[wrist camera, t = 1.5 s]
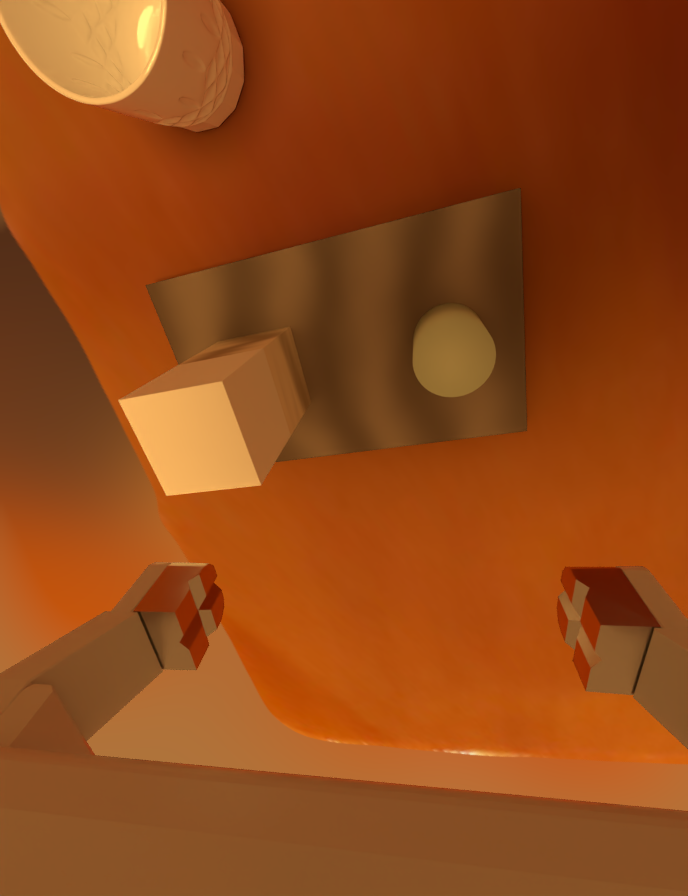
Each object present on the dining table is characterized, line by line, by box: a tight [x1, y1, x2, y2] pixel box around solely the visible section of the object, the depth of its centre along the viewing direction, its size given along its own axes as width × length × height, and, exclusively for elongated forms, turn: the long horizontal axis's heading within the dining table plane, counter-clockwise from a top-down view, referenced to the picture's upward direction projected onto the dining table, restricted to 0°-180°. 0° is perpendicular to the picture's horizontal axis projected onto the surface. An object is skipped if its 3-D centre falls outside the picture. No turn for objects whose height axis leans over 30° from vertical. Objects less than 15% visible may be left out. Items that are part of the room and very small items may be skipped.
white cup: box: [0, 0, 244, 132], centre depth 20 cm, size 8×8×10 cm
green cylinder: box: [413, 303, 496, 397], centre depth 26 cm, size 5×5×5 cm
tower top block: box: [119, 348, 291, 496], centre depth 24 cm, size 6×6×6 cm
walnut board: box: [146, 188, 527, 462], centre depth 31 cm, size 26×16×2 cm, turn 103°
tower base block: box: [179, 327, 311, 435], centre depth 29 cm, size 6×6×6 cm
